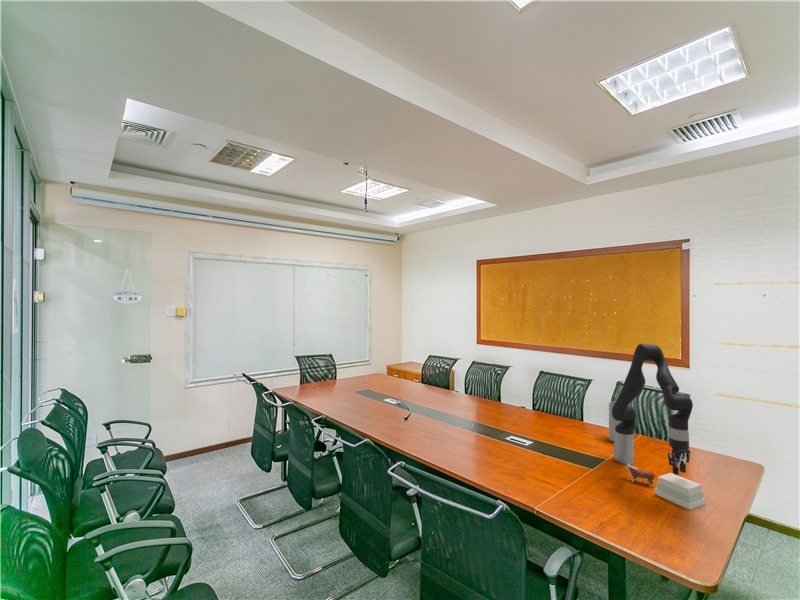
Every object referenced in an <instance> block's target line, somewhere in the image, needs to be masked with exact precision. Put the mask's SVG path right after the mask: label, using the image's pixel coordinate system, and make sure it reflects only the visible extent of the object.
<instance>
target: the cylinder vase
mask: <svg viewBox="0 0 800 600" xmlns="http://www.w3.org/2000/svg"><path fill="white" fill-rule="evenodd" d="M615 402H616V401H613V400H612V401H609V402H608V439H609V441H610V442H613V443H615V427H616V425H618V424H620V423H621V422H622V421H617V420H615V419H614V418H613V416H612V408H613V406H614V404H615ZM629 405H631V404H630V403H629Z"/></svg>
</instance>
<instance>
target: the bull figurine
mask: <svg viewBox="0 0 800 600" xmlns="http://www.w3.org/2000/svg"><path fill="white" fill-rule="evenodd" d="M624 468H625V469H626V470H627V471H628V473H629V474H630V476H632V480H631V482H633V483H634V482H635V481H636V482H639V480H638V479H641V480H642V481H645V480H647V481H646V482H645V484H646V485H648V484H649V487H650V488H651V487H653V484H654V482H653V481H654V479H655V478H656V475H655V474H654V472H652V471H649V470H643V469H640V468H638V467H635V466H634V465H633V464H625V466H624Z"/></svg>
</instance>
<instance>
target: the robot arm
mask: <svg viewBox="0 0 800 600" xmlns="http://www.w3.org/2000/svg"><path fill="white" fill-rule="evenodd" d="M644 362H653V363H654V364H655V365H656V367H657V370H656V374H655V379H656V382H657V384H658V386H659V387H660V389H661V391H662V395H663V399H664V400H663V401H664V405H665V406H666V407H667V409H669V410H670V411H678V412H677V413H674V414H670V415H669V430H668V445H669V446H670V447H671V449H672V450H671V453H670V452H668V453H667V459H668V463H669V466H672V474H675V475H677V476H680V475H679V473H682V474H686V472H687V465H688V464H689V463H690V455H691V450H690V434H689V433H690V432H689V419H690V417H691V413H692V410H693V407H694V406H693V405H694V404H693V400H692V399H691V397H690V396H688V395H683V394H681V395H680V394H679V395H678V394H677V393H679V392H680V387H679V385H678V383H677V382H676V380H675V378H674V377H673V375H672V374H671V371H670V368H669V366H668V364H667V361H666V357H665V355H664V353H663V350H662V349H661V347H660V346H659V345H657V344H650V343H639V344H638V345H636V347H635V350H634V354H633V357H632V361H631V365H630V367H629V370H628V373H627V375H626V377H625V380H624V382H623V385H622V388H621V391H620V392H619V395H618V396H617V398H616V401H615V404H614V406H613V408H612V416H613V418H614V419H615V420H617V421H622V422H621V423H620V424H618V425H616V427H615V442H613V459H614V460H615V462H617V461H618V463H620V464H623V465H628V464H630V465H633V464H634V463H635V461H634V459H635V453H634V452H635V451H634V449H635V448H634V447H635V446H634V445H635V444H634V437H635V435H634V432H635V429H636V415H637V414H636V411H635V408H634V407H633V406H632V405H631V404H630V403H632V402H633V401H634V400H635V399H637V397H638V396H640V394H641V393H642V391H643V390H644V387H645V384H646V378H645V375H644V373H643V368H642V367H643V365H644ZM676 394H677V395H676ZM629 404H630V405H629Z"/></svg>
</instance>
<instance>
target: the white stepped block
mask: <svg viewBox="0 0 800 600" xmlns="http://www.w3.org/2000/svg"><path fill="white" fill-rule="evenodd" d="M654 495H656V496H658V497H661V498H663V499H665V500H667V501H670V502H671V503H673V504H676V505H679V506H680V507H682V508H685V509H686V510H688V511H691V510H694V509H696V508H700V507H702V506H704V505H706V497H704V491H703V490H702V484H701V483H699V482H695V481H693V480H690V479H688V478H684V477H682V476H680V475H675V474H673V472H669V473H665V474H663V475H659V476H657V482H656V487H655V488H654Z"/></svg>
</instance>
